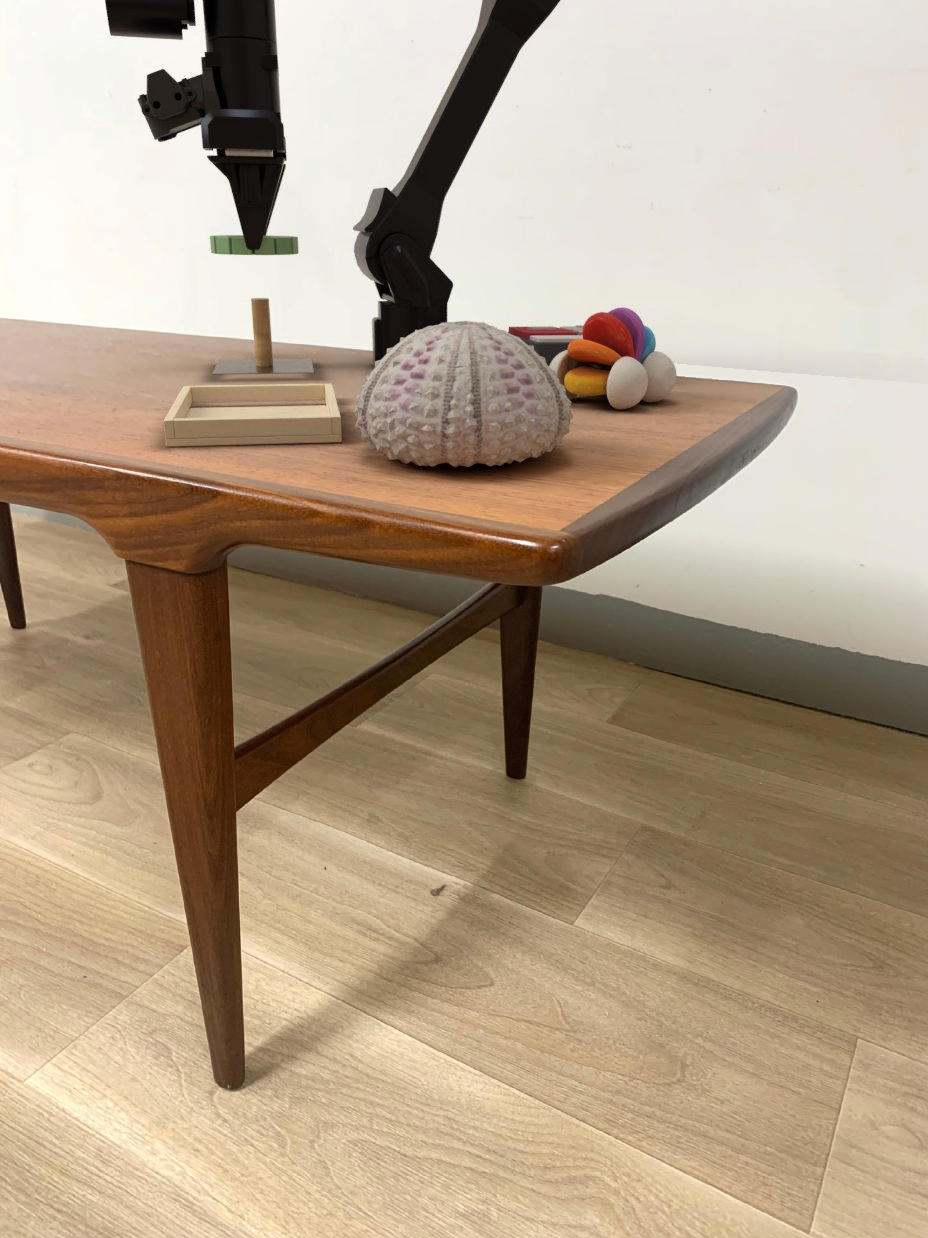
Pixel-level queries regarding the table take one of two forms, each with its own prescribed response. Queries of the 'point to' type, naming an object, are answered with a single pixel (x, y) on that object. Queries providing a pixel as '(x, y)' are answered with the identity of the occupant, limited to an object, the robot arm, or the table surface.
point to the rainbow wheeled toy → (615, 361)
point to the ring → (268, 247)
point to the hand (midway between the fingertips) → (255, 247)
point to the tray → (253, 416)
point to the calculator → (548, 339)
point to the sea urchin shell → (462, 399)
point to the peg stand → (263, 350)
